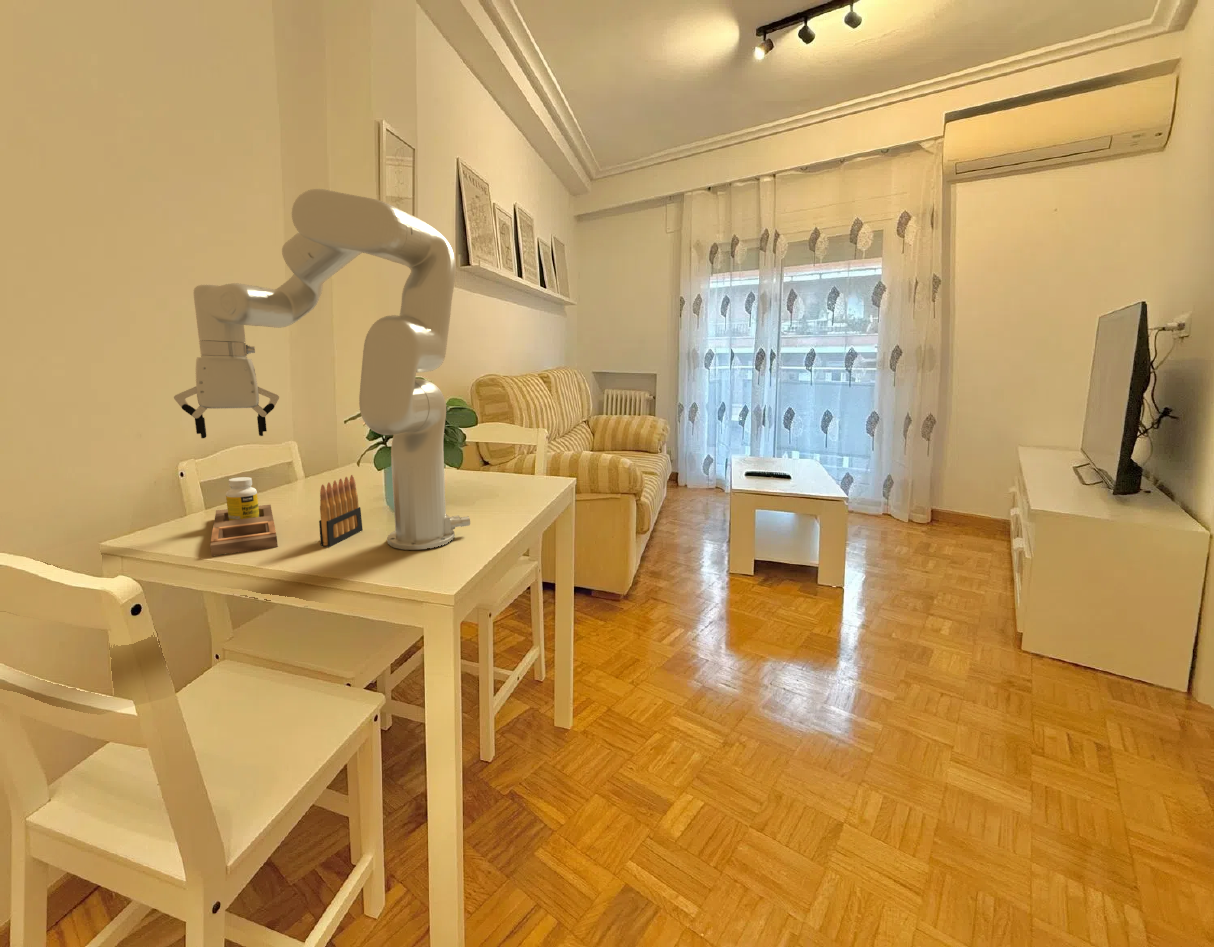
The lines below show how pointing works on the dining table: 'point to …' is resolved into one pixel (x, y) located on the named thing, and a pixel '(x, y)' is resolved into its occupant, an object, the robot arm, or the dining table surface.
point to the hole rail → (243, 532)
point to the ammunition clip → (339, 512)
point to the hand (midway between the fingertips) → (233, 436)
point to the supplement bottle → (242, 499)
